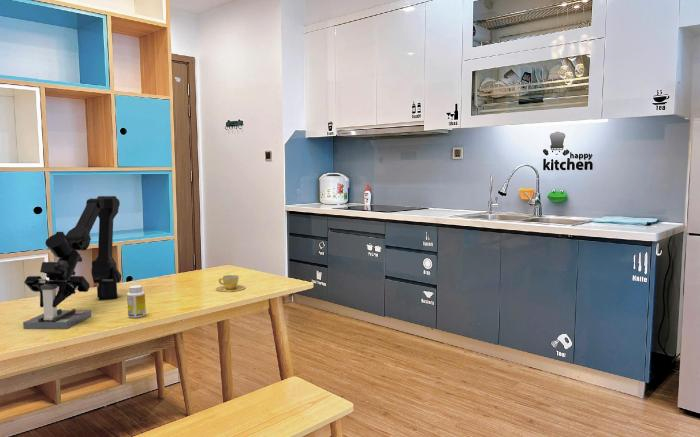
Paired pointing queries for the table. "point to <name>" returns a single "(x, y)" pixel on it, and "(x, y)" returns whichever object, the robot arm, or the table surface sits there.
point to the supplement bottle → (136, 302)
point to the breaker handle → (49, 301)
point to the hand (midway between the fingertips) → (47, 306)
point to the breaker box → (58, 320)
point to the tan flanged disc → (229, 283)
